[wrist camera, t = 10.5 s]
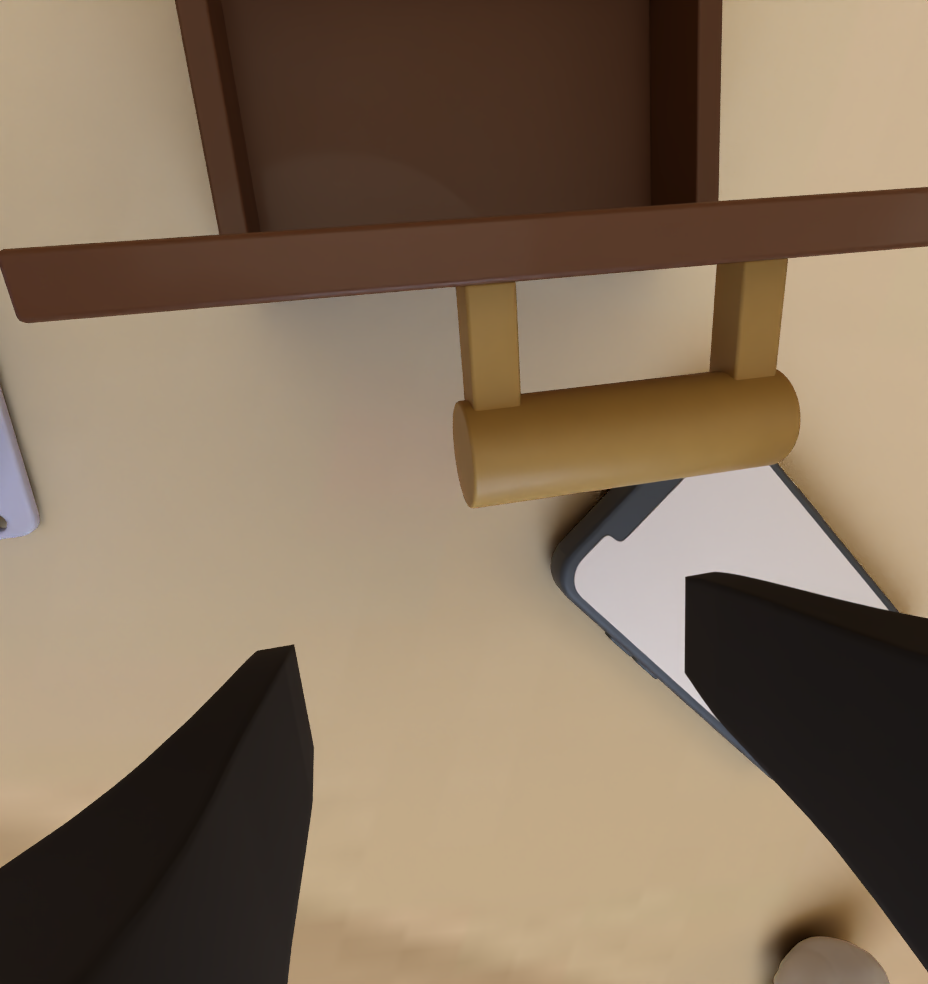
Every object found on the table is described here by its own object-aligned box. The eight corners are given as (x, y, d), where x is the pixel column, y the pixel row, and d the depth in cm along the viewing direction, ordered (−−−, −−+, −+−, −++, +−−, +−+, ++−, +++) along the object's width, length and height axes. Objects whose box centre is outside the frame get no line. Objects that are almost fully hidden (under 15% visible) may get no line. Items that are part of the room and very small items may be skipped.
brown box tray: (182, -81, 15) (138, -191, 12) (658, -75, 17) (727, -168, 14) (251, 297, 18) (228, 287, 15) (660, 263, 20) (718, 247, 17)
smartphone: (904, 633, 26) (698, 387, 21) (938, 652, 25) (727, 391, 19) (763, 772, 27) (530, 564, 21) (788, 798, 25) (544, 582, 20)
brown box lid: (-11, 249, 5) (119, 637, 6) (1242, 165, 7) (1137, 469, 8) (223, 273, 14) (254, 426, 15) (727, 234, 16) (717, 372, 17)
